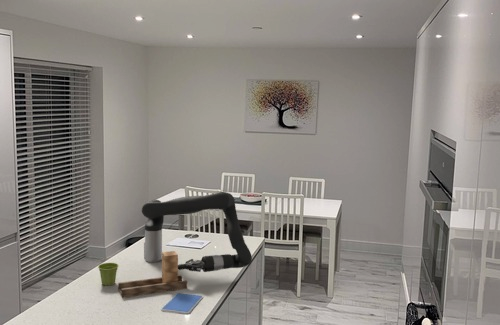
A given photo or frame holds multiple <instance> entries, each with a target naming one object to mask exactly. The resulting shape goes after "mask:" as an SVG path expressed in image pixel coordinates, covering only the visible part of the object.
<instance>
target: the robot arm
mask: <svg viewBox="0 0 500 325" xmlns="http://www.w3.org/2000/svg"><path fill="white" fill-rule="evenodd" d="M205 210H206V211H207V210H220V211H222V212H223V213H224V216H225V219H226V224H227V226H226V227H227V235H228V239H229V242H230V245H231V248H232V249H233V250H235V252H236V253H237V254H230V253H228V254H227V253H225V254H213V255H205V256H202V258H201V259H195V260H194V258H191V259H189V260H187V261H185V263H181V264H180V263H178V271H179V270H180V271H181V270H182V271H183V270H187V271H189V272H197V273H198V272H199V273H201V270H202V271H203V272H204V273H209V272H216V271H221V270H227V269H241V268H246V267H247V266H249V265H250V264H251V263H252V261H253V256H252V253H251V251H250V249H249V247H248V245H247V244H246V240H245V239H244V235H243V233H242V230H241V226H240V222H239V218H238V212H237V209H236V202H235V197H234V196H233V194H231V193H229V192H226V191H220V192H215V193H210V194H206V195H191V196H181V197H177V198H173V199H169V200H166V201H161V200H159V199H153V200H152V199H151V200H149V201H147V202H145V203H144V204H143V206H142V208H141V213H142V215H143V216H144V217H145V218H147V221H146V223H145V224H144V242H143V259H144V260H145V261H146V262H148V263H157V262H160V261H162V252H163V224H164V218H165V216H176V215H177V216H178V215H190V214H195V213H199V212H201V211H205Z"/></svg>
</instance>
